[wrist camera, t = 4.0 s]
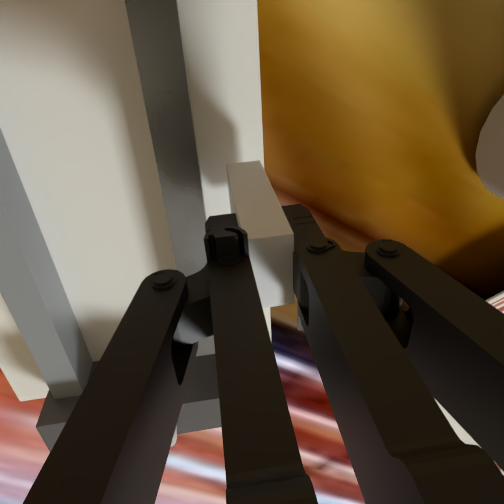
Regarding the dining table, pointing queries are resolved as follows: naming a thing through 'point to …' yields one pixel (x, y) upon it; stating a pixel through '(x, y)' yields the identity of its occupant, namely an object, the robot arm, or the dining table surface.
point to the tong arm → (171, 130)
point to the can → (492, 151)
